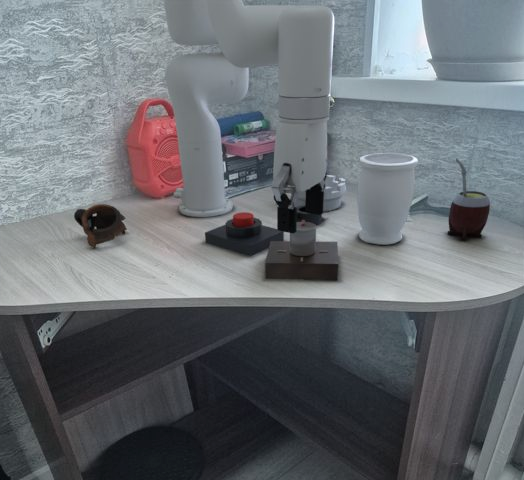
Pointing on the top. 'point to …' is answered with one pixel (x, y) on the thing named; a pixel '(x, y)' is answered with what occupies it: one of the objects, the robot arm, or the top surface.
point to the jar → (385, 196)
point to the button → (243, 219)
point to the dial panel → (302, 262)
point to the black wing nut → (308, 216)
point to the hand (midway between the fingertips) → (300, 222)
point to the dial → (303, 239)
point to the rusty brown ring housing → (100, 223)
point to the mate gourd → (468, 211)
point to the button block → (244, 237)
